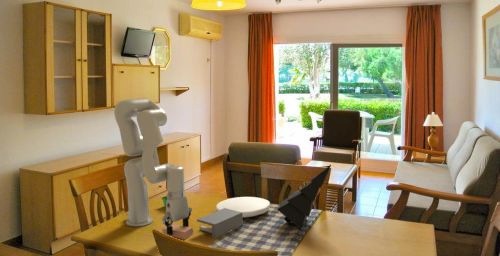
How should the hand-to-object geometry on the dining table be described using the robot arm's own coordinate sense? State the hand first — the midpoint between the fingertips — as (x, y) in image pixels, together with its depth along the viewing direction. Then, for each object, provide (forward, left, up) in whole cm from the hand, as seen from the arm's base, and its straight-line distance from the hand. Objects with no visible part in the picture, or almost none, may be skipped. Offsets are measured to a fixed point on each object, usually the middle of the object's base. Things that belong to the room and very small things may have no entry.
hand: (178, 231), depth 191 cm
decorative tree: (+40, +44, -2) cm, 59 cm away
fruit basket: (-31, +26, -2) cm, 41 cm away
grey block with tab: (+10, +16, -2) cm, 19 cm away
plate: (+5, +41, -2) cm, 41 cm away
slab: (0, 0, -2) cm, 2 cm away
